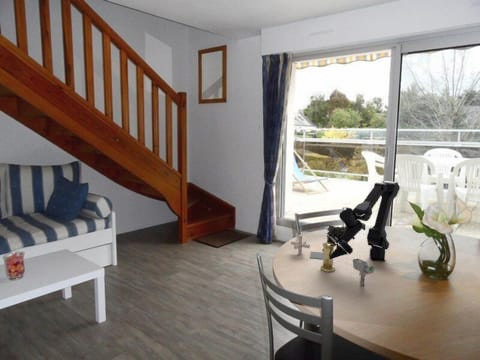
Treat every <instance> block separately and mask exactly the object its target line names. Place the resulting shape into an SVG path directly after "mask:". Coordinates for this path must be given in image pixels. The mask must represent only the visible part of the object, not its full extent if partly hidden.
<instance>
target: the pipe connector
mask: <svg viewBox="0 0 480 360" xmlns="http://www.w3.org/2000/svg"><path fill="white" fill-rule="evenodd" d="M290 245H292V246H293V248H294V250H298V251H297V252H298V253H297V254H298V256H301V255H302V254H303V248H305V249H310V248H311V245H310V244H308V243H307V241H306V240H303V234H298V240H297V241H293V240H291V241H290Z"/></svg>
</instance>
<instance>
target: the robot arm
mask: <svg viewBox="0 0 480 360" xmlns="http://www.w3.org/2000/svg"><path fill="white" fill-rule="evenodd" d="M400 188H401V187H400V185H399V183H398V182H397V181H396V182H395V181H387V180H384V181H383V182H375V183H374V184H373V187H372V189H371V190H370V192H369V193H368V195H366V197H365V199H364V200H363V201H362V202H360V203H359V204H357V205H356V206H355V207H354V208H353V209H352V207H346V209H343V210H342V211H341V212H340V213H339V215H338V217H339V219H340V221H342V223H343V224H344V225H345V226H341V227H340V226H339V225H338V226H336V225H333V224H332V223H331V224H329V226H328V227H327V231H328V232H326V238H327V240H326V242H328V243H333V244H334V245H335V246H334V247H336V248H335V249H333V253H332V254H331V255H330V257H329V258H330V259H333V260H334V259H336V258H338V257H341V256H345V255H346V256H348V254H349V255H351V254H353V251H354V248H353V247H352V246H351V245H350V244H349V242H350V241H352V240H355V239H356V237H355V236H357V234H358V233H360V231H362V230H363V231H366V223H364V222H367V221H369V220H370V218H371V217H372V214H373V208H374V207H375V206H376V203H378V201H379V200H380V203H379V208H378V211H377V214H376V219H375V222H374V225H373V226H372V227H370V228H368V231H367V232H368V233H367V235H366V241H367V245H368V246H370V248H369V259H370V260H371V261H378V262H386V259H385V257H386V250H388V249H389V248H390V242H389V241H388V239H387V232H386V226H387V221H388V218H389V213H390V209H391V206H392V202H393V200H394V199H395V198H397V196H398V193H399V191H400ZM380 198H381V199H380ZM362 221H363V222H362ZM323 249H324V247H322V249H321V251H322V252H323Z"/></svg>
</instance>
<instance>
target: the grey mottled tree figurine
mask: <svg viewBox="0 0 480 360" xmlns="http://www.w3.org/2000/svg"><path fill="white" fill-rule="evenodd" d="M352 266H353V269H354V270H356V271H359V276H360V280H359V286H360V287H363V286H365V280H366V279H365V277H366V276H368V275H371V274H374V271H375V267H374V266H373V265H368V262H367V261H364V260H362V259H360V258H353V259H352Z"/></svg>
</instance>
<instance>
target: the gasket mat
mask: <svg viewBox="0 0 480 360" xmlns="http://www.w3.org/2000/svg"><path fill="white" fill-rule="evenodd" d="M314 258H315V260H316V259H317V260H323V251H322V252H321V251H310V255H309V259H314Z"/></svg>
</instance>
